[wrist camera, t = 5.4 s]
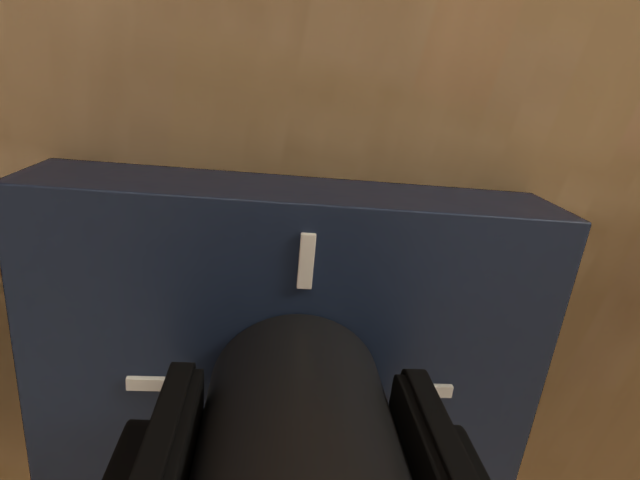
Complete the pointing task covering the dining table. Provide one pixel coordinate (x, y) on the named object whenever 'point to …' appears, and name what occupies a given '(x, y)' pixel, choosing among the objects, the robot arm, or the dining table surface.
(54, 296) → the dial panel
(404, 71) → the dining table surface
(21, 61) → the dining table surface
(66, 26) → the dining table surface
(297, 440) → the dial
